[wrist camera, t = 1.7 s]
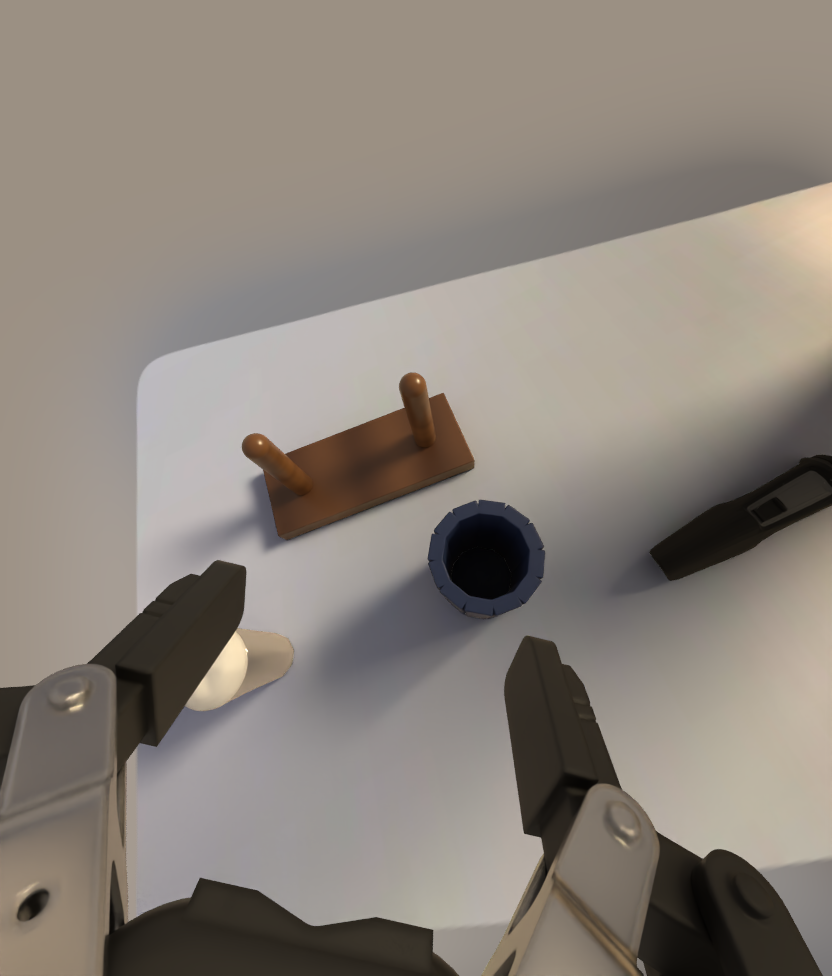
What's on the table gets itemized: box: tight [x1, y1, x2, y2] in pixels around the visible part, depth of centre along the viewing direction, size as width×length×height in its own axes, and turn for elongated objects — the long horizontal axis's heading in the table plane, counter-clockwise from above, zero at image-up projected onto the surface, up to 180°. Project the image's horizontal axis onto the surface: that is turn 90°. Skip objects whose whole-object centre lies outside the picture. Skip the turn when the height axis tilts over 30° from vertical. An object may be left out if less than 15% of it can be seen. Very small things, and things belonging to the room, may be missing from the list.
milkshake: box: [185, 628, 294, 711], centre depth 25 cm, size 4×5×10 cm
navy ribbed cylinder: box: [428, 500, 545, 619], centre depth 25 cm, size 6×6×10 cm
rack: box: [242, 373, 474, 540], centre depth 30 cm, size 17×7×10 cm, turn 110°
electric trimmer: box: [649, 455, 832, 581], centre depth 27 cm, size 4×16×3 cm, turn 116°
